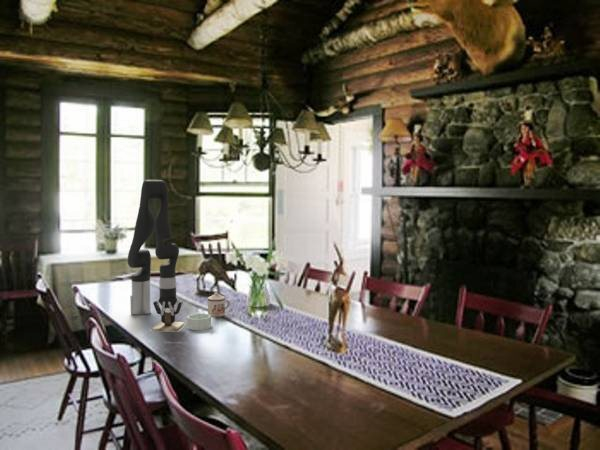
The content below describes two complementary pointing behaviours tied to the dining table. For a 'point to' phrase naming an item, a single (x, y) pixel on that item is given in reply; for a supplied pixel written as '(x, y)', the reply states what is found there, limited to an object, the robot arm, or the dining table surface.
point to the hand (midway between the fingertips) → (168, 322)
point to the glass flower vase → (265, 295)
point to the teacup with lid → (217, 305)
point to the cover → (167, 324)
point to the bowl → (198, 321)
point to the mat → (171, 331)
